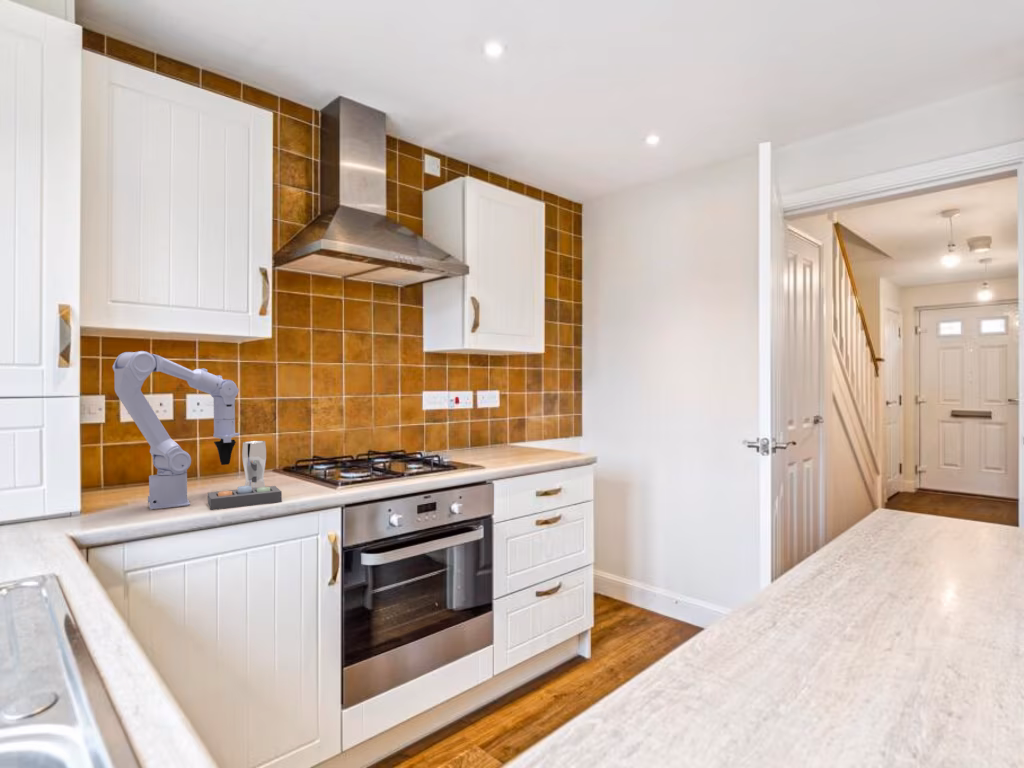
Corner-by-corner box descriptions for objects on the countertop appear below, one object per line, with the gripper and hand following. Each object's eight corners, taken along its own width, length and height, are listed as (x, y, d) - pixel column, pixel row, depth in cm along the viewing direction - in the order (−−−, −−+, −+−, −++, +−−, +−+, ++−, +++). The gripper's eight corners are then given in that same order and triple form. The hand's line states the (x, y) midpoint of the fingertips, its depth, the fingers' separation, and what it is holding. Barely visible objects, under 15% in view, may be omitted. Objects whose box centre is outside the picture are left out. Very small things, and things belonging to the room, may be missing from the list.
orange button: (218, 504, 161) (218, 493, 161) (217, 502, 164) (217, 491, 164) (233, 503, 163) (233, 492, 163) (231, 500, 166) (231, 490, 166)
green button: (257, 500, 166) (257, 489, 166) (255, 498, 169) (255, 487, 169) (271, 498, 168) (271, 488, 168) (269, 496, 171) (269, 486, 171)
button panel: (210, 510, 157) (210, 499, 157) (207, 503, 165) (207, 492, 165) (281, 501, 166) (281, 491, 166) (275, 495, 175) (275, 485, 175)
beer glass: (238, 490, 184) (237, 442, 184) (256, 486, 190) (256, 440, 190) (252, 491, 181) (252, 443, 181) (271, 487, 187) (270, 441, 187)
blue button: (238, 499, 163) (238, 488, 163) (237, 496, 166) (236, 486, 166) (252, 497, 165) (252, 487, 165) (250, 495, 168) (250, 485, 168)
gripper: (242, 420, 171) (243, 466, 172) (236, 417, 184) (236, 460, 184) (215, 421, 168) (216, 468, 168) (210, 418, 180) (211, 462, 180)
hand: (225, 464), depth 176 cm, fingers closed
